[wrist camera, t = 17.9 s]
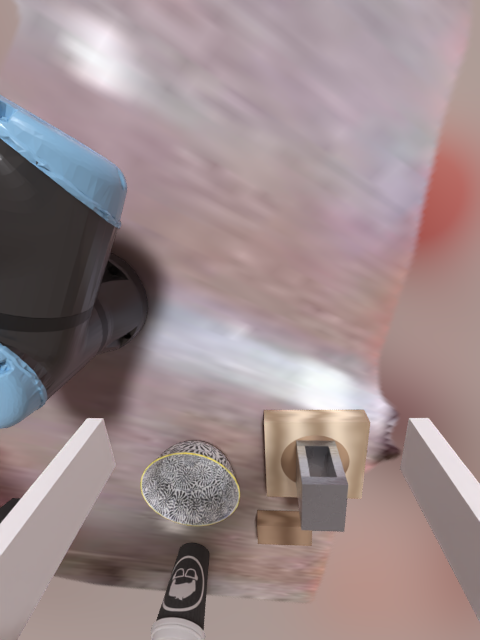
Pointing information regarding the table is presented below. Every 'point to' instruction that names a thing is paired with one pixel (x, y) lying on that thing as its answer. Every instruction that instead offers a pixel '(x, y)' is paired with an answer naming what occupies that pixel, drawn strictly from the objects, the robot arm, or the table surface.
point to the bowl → (191, 484)
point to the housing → (320, 486)
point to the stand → (281, 528)
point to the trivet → (314, 425)
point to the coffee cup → (184, 597)
